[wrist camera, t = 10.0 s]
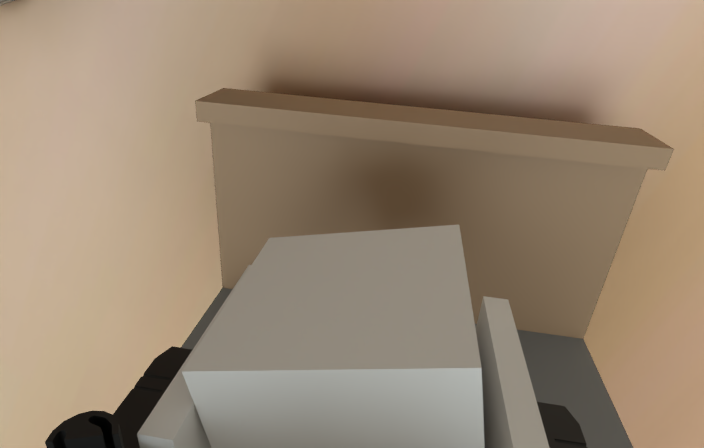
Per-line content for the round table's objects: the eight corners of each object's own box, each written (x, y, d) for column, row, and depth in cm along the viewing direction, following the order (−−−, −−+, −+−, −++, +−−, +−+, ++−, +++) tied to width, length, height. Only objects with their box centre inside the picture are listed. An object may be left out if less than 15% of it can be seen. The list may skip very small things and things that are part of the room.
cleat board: (543, 289, 35) (692, 662, 15) (263, 252, 37) (81, 537, 18) (600, 103, 29) (979, 336, 9) (258, 72, 31) (-34, 204, 11)
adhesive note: (459, 223, 14) (483, 367, 8) (468, 376, 16) (490, 563, 11) (268, 237, 15) (180, 372, 9) (303, 378, 17) (250, 548, 12)
